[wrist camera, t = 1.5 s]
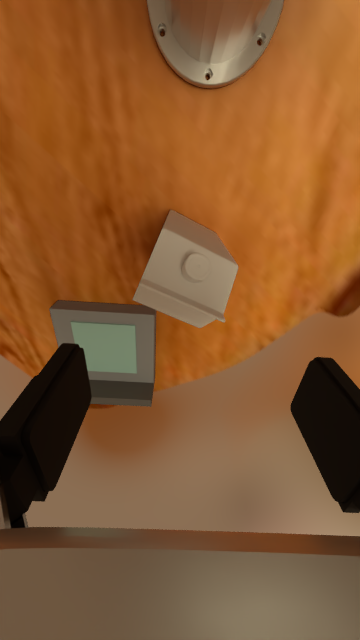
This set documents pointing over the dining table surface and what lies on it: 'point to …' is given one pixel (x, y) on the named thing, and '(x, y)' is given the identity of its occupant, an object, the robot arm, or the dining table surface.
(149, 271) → the milk carton
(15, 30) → the dining table surface
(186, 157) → the dining table surface
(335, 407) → the robot arm
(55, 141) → the dining table surface
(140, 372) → the plate
